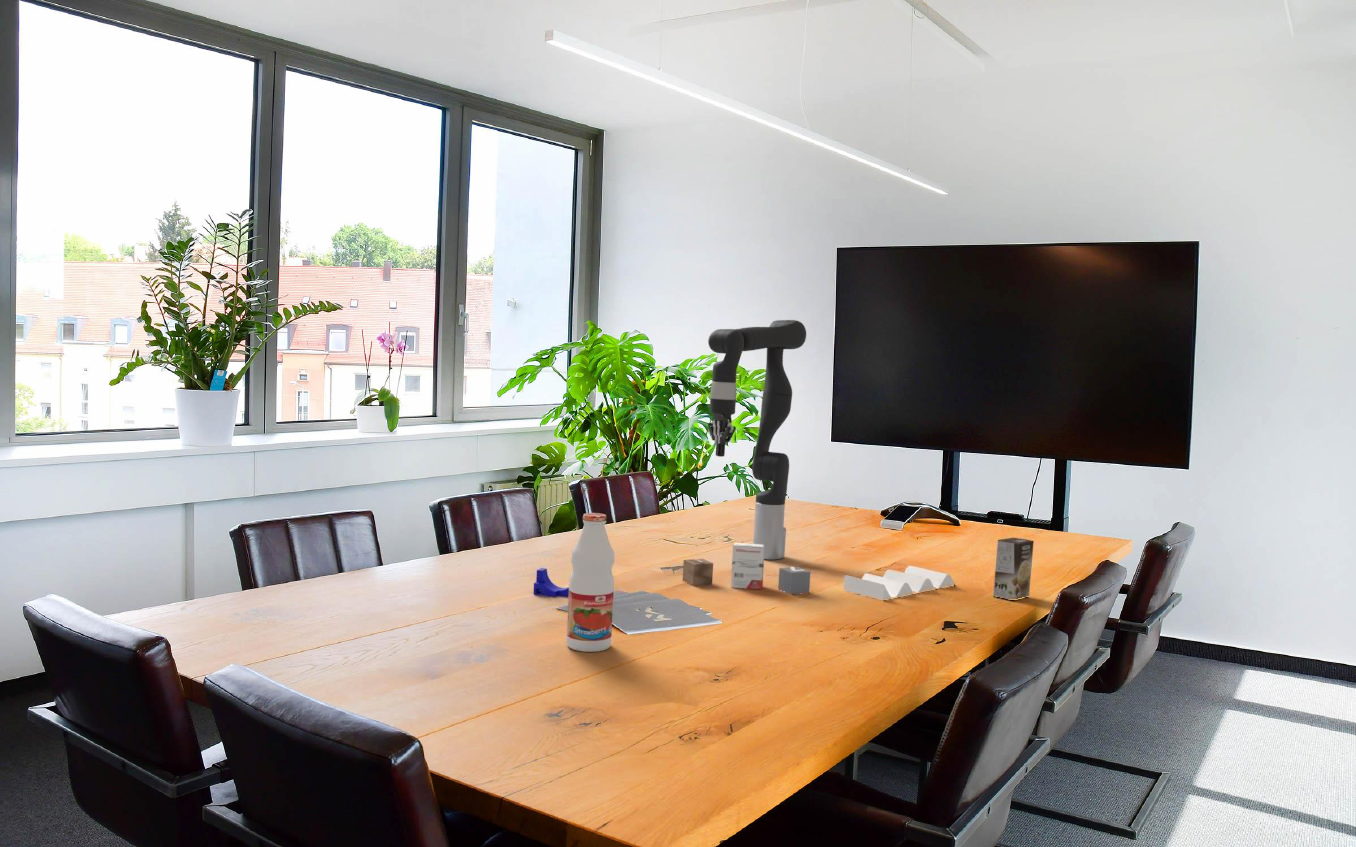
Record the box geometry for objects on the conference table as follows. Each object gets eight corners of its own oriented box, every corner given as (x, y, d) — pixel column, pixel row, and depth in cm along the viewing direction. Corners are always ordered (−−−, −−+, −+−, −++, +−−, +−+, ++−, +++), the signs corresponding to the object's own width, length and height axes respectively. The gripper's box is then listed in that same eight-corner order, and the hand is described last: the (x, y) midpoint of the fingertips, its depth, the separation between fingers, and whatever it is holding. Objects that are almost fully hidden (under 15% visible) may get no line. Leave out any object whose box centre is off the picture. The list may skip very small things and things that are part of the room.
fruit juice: (602, 638, 214) (608, 510, 212) (617, 651, 206) (623, 518, 204) (560, 641, 210) (566, 511, 209) (574, 654, 202) (580, 518, 200)
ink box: (762, 586, 272) (765, 543, 271) (762, 590, 267) (764, 547, 266) (731, 583, 273) (733, 541, 272) (730, 587, 268) (732, 544, 267)
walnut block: (701, 579, 276) (702, 557, 275) (712, 584, 270) (713, 562, 270) (682, 581, 273) (683, 558, 272) (692, 586, 268) (694, 563, 267)
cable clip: (533, 594, 250) (534, 571, 249) (540, 590, 254) (541, 567, 254) (577, 600, 246) (578, 576, 246) (584, 596, 251) (585, 572, 250)
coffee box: (1014, 602, 268) (1018, 543, 267) (992, 597, 273) (996, 539, 272) (1029, 597, 275) (1034, 540, 274) (1008, 592, 279) (1012, 536, 278)
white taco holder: (956, 587, 285) (957, 570, 284) (882, 603, 261) (884, 584, 261) (917, 578, 295) (918, 561, 294) (843, 593, 271) (844, 574, 271)
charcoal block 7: (796, 588, 271) (797, 565, 271) (809, 593, 266) (810, 570, 266) (778, 589, 269) (779, 567, 268) (790, 595, 263) (792, 571, 263)
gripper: (745, 399, 286) (742, 458, 287) (722, 396, 298) (719, 453, 299) (723, 398, 283) (720, 458, 284) (701, 395, 294) (698, 453, 295)
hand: (719, 456), depth 291 cm, fingers closed
